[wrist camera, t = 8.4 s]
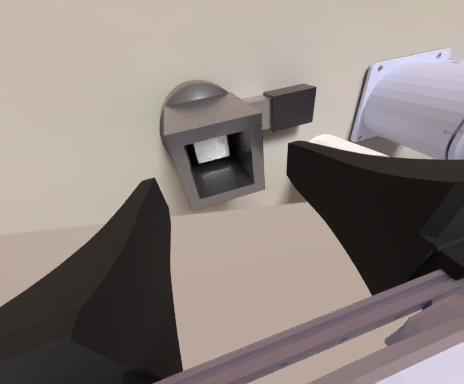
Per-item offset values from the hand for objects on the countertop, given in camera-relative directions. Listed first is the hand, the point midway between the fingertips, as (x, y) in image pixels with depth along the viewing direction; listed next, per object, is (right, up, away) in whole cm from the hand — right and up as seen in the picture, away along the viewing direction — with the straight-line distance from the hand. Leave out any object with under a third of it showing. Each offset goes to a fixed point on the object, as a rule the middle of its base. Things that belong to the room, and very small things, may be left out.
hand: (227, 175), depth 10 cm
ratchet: (+1, +6, +8) cm, 10 cm away
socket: (-2, +4, +5) cm, 7 cm away
